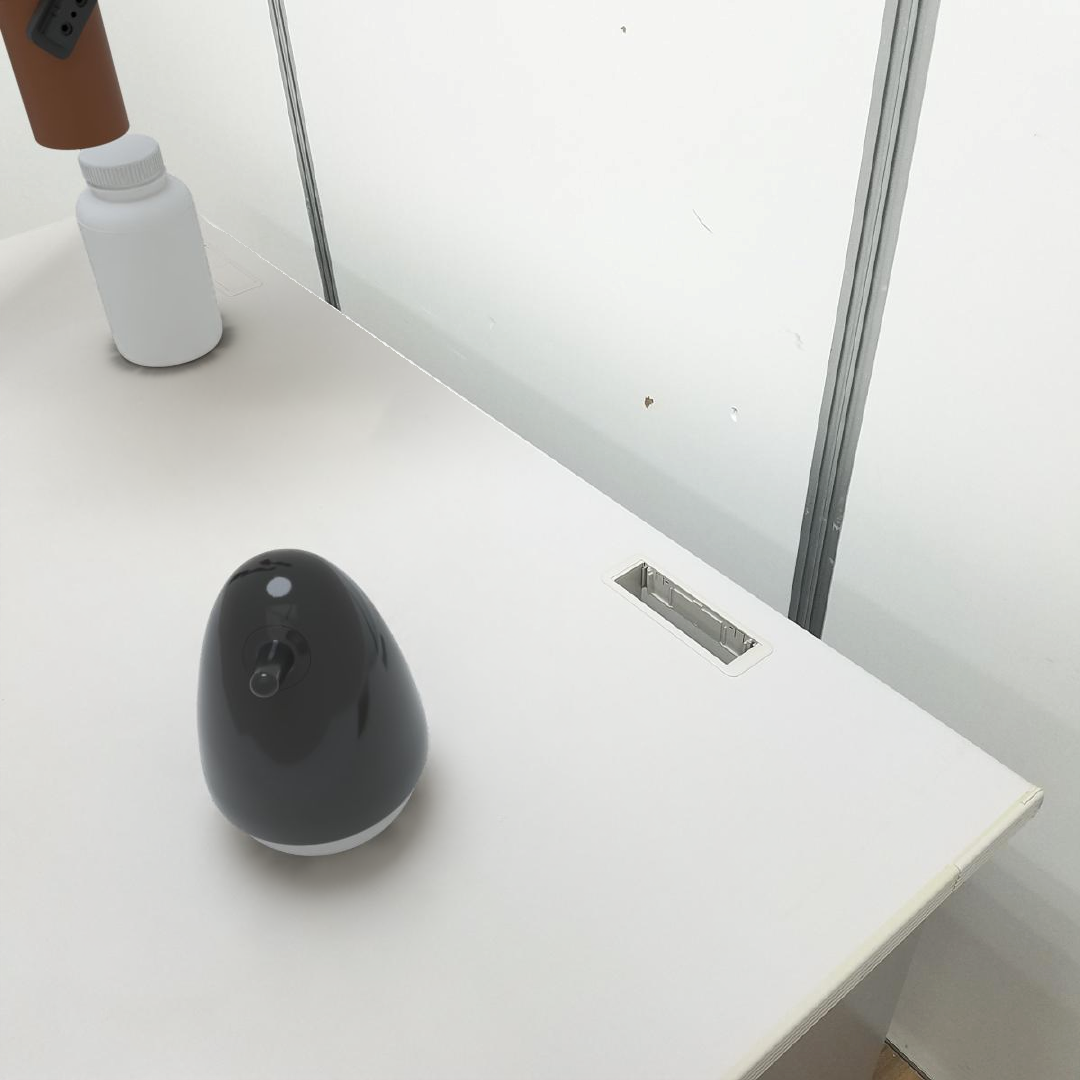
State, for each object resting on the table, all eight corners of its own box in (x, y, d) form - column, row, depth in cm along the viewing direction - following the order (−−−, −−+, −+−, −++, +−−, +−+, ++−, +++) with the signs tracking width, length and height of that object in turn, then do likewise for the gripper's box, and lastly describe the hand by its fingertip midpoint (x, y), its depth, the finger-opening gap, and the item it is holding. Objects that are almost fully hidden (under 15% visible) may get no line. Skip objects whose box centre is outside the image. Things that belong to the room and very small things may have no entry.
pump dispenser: (203, 901, 51) (113, 673, 41) (239, 719, 59) (171, 490, 49) (432, 891, 51) (398, 662, 41) (437, 711, 59) (411, 481, 49)
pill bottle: (96, 363, 84) (33, 167, 74) (149, 308, 90) (97, 120, 80) (195, 376, 83) (144, 178, 73) (242, 320, 88) (201, 129, 78)
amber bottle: (14, 142, 64) (-65, -98, 56) (76, 109, 67) (10, -121, 59) (89, 156, 62) (19, -89, 54) (148, 121, 66) (91, -114, 58)
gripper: (41, -334, 59) (-103, -35, 61) (185, -316, 51) (15, 27, 53) (157, -225, 65) (23, 44, 67) (301, -194, 57) (145, 109, 59)
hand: (20, 35), depth 60 cm, fingers closed on amber bottle, 5 cm apart
